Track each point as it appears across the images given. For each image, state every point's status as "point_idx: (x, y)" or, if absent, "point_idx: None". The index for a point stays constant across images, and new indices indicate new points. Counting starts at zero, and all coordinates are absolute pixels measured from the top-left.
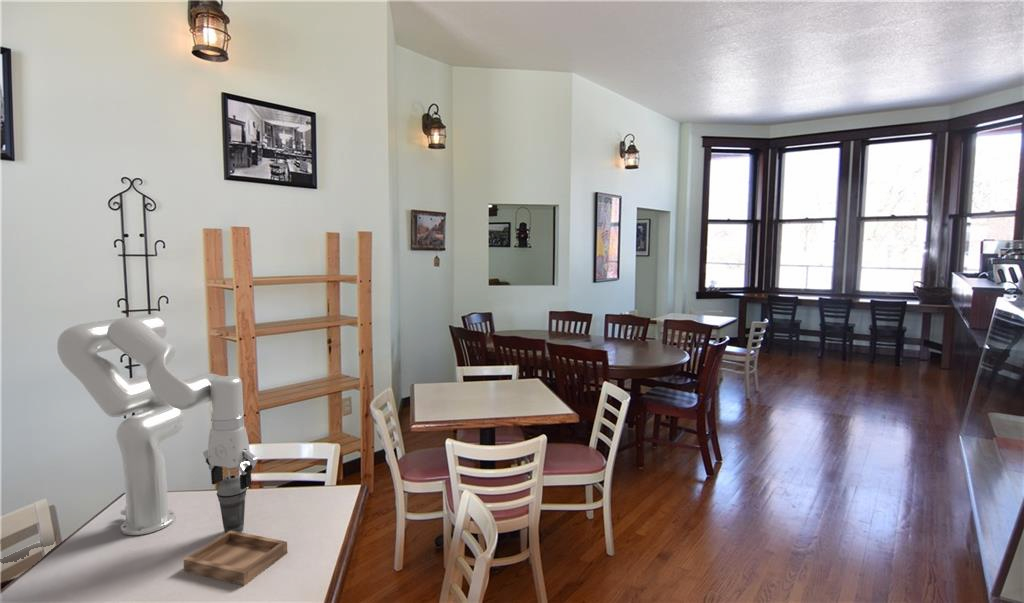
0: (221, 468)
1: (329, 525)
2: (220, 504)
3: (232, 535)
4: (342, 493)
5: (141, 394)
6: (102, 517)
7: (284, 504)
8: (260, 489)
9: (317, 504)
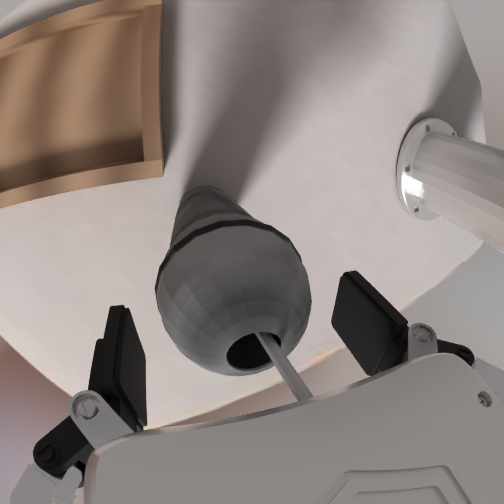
0: (367, 368)
1: (27, 331)
2: (244, 215)
3: (135, 161)
4: None
5: None
6: None
7: None
8: (310, 364)
9: None
